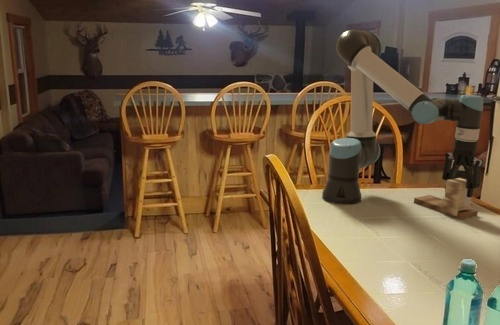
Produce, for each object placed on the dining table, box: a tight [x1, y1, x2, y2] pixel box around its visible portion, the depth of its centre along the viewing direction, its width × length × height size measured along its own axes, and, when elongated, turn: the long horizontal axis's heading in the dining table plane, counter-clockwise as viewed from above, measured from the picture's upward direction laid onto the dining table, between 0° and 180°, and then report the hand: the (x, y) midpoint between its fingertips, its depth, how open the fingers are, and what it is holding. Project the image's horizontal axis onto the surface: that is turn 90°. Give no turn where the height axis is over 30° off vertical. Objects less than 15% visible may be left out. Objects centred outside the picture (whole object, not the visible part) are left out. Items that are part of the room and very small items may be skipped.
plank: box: [413, 194, 479, 221], centre depth 177 cm, size 21×9×2 cm, turn 31°
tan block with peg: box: [441, 178, 473, 216], centre depth 170 cm, size 6×10×12 cm, turn 121°
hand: (457, 202), depth 170 cm, fingers closed on tan block with peg, 6 cm apart
